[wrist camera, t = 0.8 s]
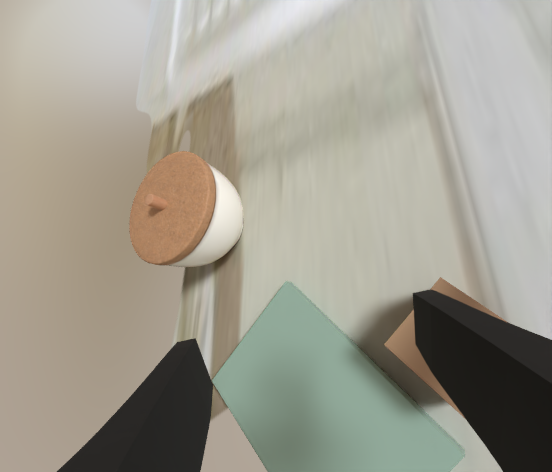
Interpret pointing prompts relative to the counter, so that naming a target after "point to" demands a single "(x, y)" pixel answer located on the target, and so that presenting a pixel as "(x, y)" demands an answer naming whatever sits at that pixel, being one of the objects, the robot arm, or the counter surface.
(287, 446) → the sage board
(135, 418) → the robot arm
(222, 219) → the lidded jar
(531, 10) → the counter surface
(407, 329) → the walnut block
